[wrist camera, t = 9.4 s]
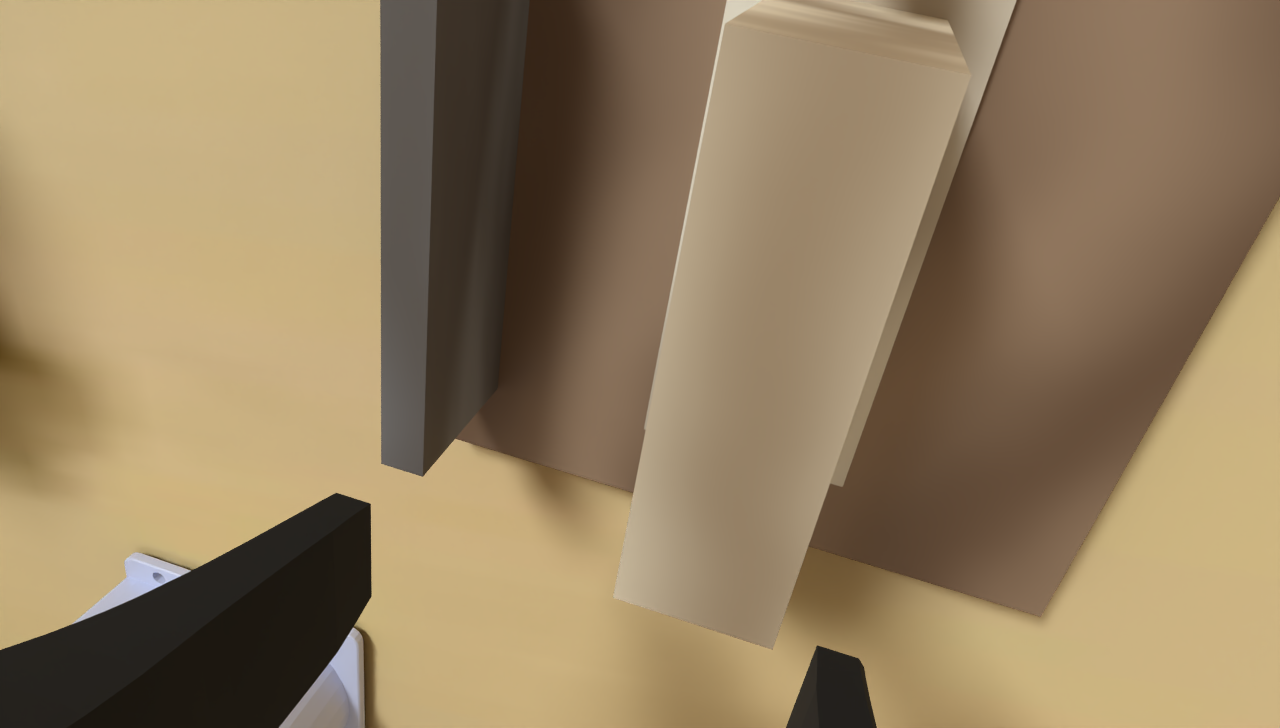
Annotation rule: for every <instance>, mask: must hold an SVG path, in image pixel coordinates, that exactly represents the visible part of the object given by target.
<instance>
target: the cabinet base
mask: <svg viewBox="0 0 1280 728" xmlns="http://www.w3.org/2000/svg"><path fill="white" fill-rule="evenodd" d="M761 1H762V0H380V17H381V464H384V465H387V466H391V467H394V468H397V469H400V470H403V471H406V472H410V473H413V474H416V475H419V476H422V477H423V476H424V475H425V473H426V472H427V471H428V470H429V469H430V467H431V466H432V465H433V464H434V463H435V462H436V460H437V459H438V458H439V457H440V456H441V455H442V453H443V452H444V451H445V450H446V449H447V448H448V446H449V445H450V444H451V443H452V442H453V440H454V439H458V440H462V441H465V442H468V443H471V444H475V445H478V446H481V447H485V448H488V449H491V450H494V451H498V452H501V453H504V454H508V455H511V456H514V457H517V458H521V459H524V460H527V461H531V462H534V463H537V464H540V465H544V466H547V467H550V468H554V469H557V470H560V471H563V472H567V473H570V474H573V475H577V476H580V477H583V478H586V479H590V480H593V481H596V482H600V483H603V484H606V485H609V486H613V487H616V488H619V489H623V490H626V491H629V492H632V493H634V488H635V482H636V477H637V472H638V467H639V462H640V457H641V452H642V447H643V441H644V436H645V431H646V426H647V421H648V416H649V411H650V405H651V400H652V395H653V390H654V385H655V380H656V375H657V370H658V364H659V359H660V354H661V349H662V344H663V339H664V334H665V329H666V323H667V318H668V313H669V308H670V303H671V298H672V293H673V288H674V282H675V277H676V272H677V267H678V262H679V257H680V252H681V246H682V241H683V236H684V231H685V226H686V221H687V216H688V211H689V205H690V200H691V195H692V190H693V185H694V180H695V175H696V170H697V164H698V159H699V154H700V149H701V144H702V139H703V134H704V128H705V123H706V118H707V113H708V108H709V103H710V98H711V93H712V87H713V82H714V77H715V72H716V67H717V62H718V57H719V52H720V46H721V41H722V36H723V31H724V26H725V23H727V22H729V21H730V20H732V19H733V18H735V17H737V16H738V15H740V14H741V13H743V12H745V11H746V10H748V9H749V8H751V7H753V6H754V5H756V4H757V3H759V2H761ZM850 1H855V2H860V3H865V4H870V5H875V6H880V7H885V8H890V9H895V10H900V11H905V12H910V13H915V14H920V15H925V16H930V17H935V18H940V19H945V20H948V22H949V24H950V26H951V29H952V31H953V33H954V36H955V38H956V40H957V43H958V45H959V48H960V50H961V52H962V55H963V57H964V59H965V62H966V64H967V66H968V69H969V71H970V73H971V78H970V81H969V83H968V86H967V89H966V92H965V95H964V98H963V101H962V104H961V107H960V109H959V112H958V115H957V118H956V121H955V124H954V127H953V130H952V133H951V135H950V138H949V141H948V144H947V147H946V150H945V153H944V156H943V159H942V161H941V164H940V167H939V170H938V173H937V176H936V179H935V182H934V185H933V187H932V190H931V193H930V196H929V199H928V202H927V205H926V208H925V211H924V213H923V216H922V219H921V222H920V225H919V228H918V231H917V234H916V237H915V239H914V242H913V245H912V248H911V251H910V254H909V257H908V260H907V263H906V265H905V268H904V271H903V274H902V277H901V280H900V283H899V286H898V288H897V291H896V294H895V297H894V300H893V303H892V306H891V309H890V312H889V314H888V317H887V320H886V323H885V326H884V329H883V332H882V335H881V338H880V340H879V343H878V346H877V349H876V352H875V355H874V358H873V361H872V364H871V366H870V369H869V372H868V375H867V378H866V381H865V384H864V387H863V390H862V392H861V395H860V398H859V401H858V404H857V407H856V410H855V413H854V416H853V418H852V421H851V424H850V427H849V430H848V433H847V436H846V439H845V442H844V444H843V447H842V450H841V453H840V456H839V459H838V462H837V465H836V468H835V470H834V473H833V476H832V479H831V482H830V485H829V488H828V491H827V494H826V496H825V499H824V502H823V505H822V508H821V511H820V514H819V517H818V520H817V522H816V525H815V528H814V531H813V534H812V537H811V540H810V543H809V546H810V547H813V548H816V549H820V550H823V551H826V552H829V553H833V554H836V555H839V556H843V557H846V558H849V559H852V560H856V561H859V562H862V563H866V564H869V565H872V566H875V567H879V568H882V569H885V570H889V571H892V572H895V573H898V574H902V575H905V576H908V577H912V578H915V579H918V580H921V581H925V582H928V583H931V584H935V585H938V586H941V587H944V588H948V589H951V590H954V591H958V592H961V593H964V594H967V595H971V596H974V597H977V598H981V599H984V600H987V601H990V602H994V603H997V604H1000V605H1004V606H1007V607H1010V608H1013V609H1017V610H1020V611H1023V612H1027V613H1030V614H1033V615H1036V616H1040V617H1041V615H1042V614H1043V612H1044V610H1045V608H1046V607H1047V605H1048V603H1049V601H1050V600H1051V598H1052V596H1053V594H1054V592H1055V591H1056V589H1057V587H1058V585H1059V584H1060V582H1061V580H1062V578H1063V577H1064V575H1065V573H1066V571H1067V570H1068V568H1069V566H1070V564H1071V563H1072V561H1073V559H1074V557H1075V556H1076V554H1077V552H1078V550H1079V549H1080V547H1081V545H1082V543H1083V542H1084V540H1085V538H1086V536H1087V534H1088V533H1089V531H1090V529H1091V527H1092V526H1093V524H1094V522H1095V520H1096V519H1097V517H1098V515H1099V513H1100V512H1101V510H1102V508H1103V506H1104V505H1105V503H1106V501H1107V499H1108V498H1109V496H1110V494H1111V492H1112V491H1113V489H1114V487H1115V485H1116V484H1117V482H1118V480H1119V478H1120V477H1121V475H1122V473H1123V471H1124V469H1125V468H1126V466H1127V464H1128V462H1129V461H1130V459H1131V457H1132V455H1133V454H1134V452H1135V450H1136V448H1137V447H1138V445H1139V443H1140V441H1141V440H1142V438H1143V436H1144V434H1145V433H1146V431H1147V429H1148V427H1149V426H1150V424H1151V422H1152V420H1153V419H1154V417H1155V415H1156V413H1157V411H1158V410H1159V408H1160V406H1161V404H1162V403H1163V401H1164V399H1165V397H1166V396H1167V394H1168V392H1169V390H1170V389H1171V387H1172V385H1173V383H1174V382H1175V380H1176V378H1177V376H1178V375H1179V373H1180V371H1181V369H1182V368H1183V366H1184V364H1185V362H1186V361H1187V359H1188V357H1189V355H1190V354H1191V352H1192V350H1193V348H1194V346H1195V345H1196V343H1197V341H1198V339H1199V338H1200V336H1201V334H1202V332H1203V331H1204V329H1205V327H1206V325H1207V324H1208V322H1209V320H1210V318H1211V317H1212V315H1213V313H1214V311H1215V310H1216V308H1217V306H1218V304H1219V303H1220V301H1221V299H1222V297H1223V296H1224V294H1225V292H1226V290H1227V288H1228V287H1229V285H1230V283H1231V281H1232V280H1233V278H1234V276H1235V274H1236V273H1237V271H1238V269H1239V267H1240V266H1241V264H1242V262H1243V260H1244V259H1245V257H1246V255H1247V253H1248V252H1249V250H1250V248H1251V246H1252V245H1253V243H1254V241H1255V239H1256V238H1257V236H1258V234H1259V232H1260V231H1261V229H1262V227H1263V225H1264V223H1265V222H1266V220H1267V218H1268V216H1269V215H1270V213H1271V211H1272V209H1273V208H1274V206H1275V204H1276V202H1277V201H1278V199H1279V197H1280V0H850Z"/></svg>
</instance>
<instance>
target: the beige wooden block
mask: <svg viewBox="0 0 1280 728" xmlns="http://www.w3.org/2000/svg"><path fill="white" fill-rule="evenodd" d="M970 78H971V73H970V71H969V69H968V66H967V64H966V62H965V59H964V57H963V55H962V52H961V50H960V48H959V45H958V43H957V40H956V38H955V36H954V33H953V31H952V29H951V26H950V24H949V22H948V20H945V19H940V18H935V17H930V16H925V15H920V14H915V13H910V12H905V11H900V10H895V9H890V8H885V7H880V6H875V5H870V4H865V3H860V2H855V1H850V0H762V1H761V2H759V3H757V4H756V5H754V6H753V7H751V8H749V9H748V10H746V11H745V12H743V13H741V14H740V15H738V16H737V17H735V18H733V19H732V20H730V21H729V22H727V23H725V26H724V31H723V36H722V41H721V46H720V52H719V57H718V62H717V67H716V72H715V77H714V82H713V87H712V93H711V98H710V103H709V108H708V113H707V118H706V123H705V128H704V134H703V139H702V144H701V149H700V154H699V159H698V164H697V170H696V175H695V180H694V185H693V190H692V195H691V200H690V205H689V211H688V216H687V221H686V226H685V231H684V236H683V241H682V246H681V252H680V257H679V262H678V267H677V272H676V277H675V282H674V288H673V293H672V298H671V303H670V308H669V313H668V318H667V323H666V329H665V334H664V339H663V344H662V349H661V354H660V359H659V364H658V370H657V375H656V380H655V385H654V390H653V395H652V400H651V405H650V411H649V416H648V421H647V426H646V431H645V436H644V441H643V447H642V452H641V457H640V462H639V467H638V472H637V477H636V482H635V488H634V493H633V498H632V503H631V508H630V513H629V518H628V523H627V529H626V534H625V539H624V544H623V549H622V554H621V559H620V565H619V570H618V575H617V580H616V585H615V590H614V595H613V598H615V599H618V600H622V601H625V602H628V603H631V604H634V605H637V606H640V607H643V608H646V609H649V610H652V611H655V612H658V613H661V614H665V615H668V616H671V617H674V618H677V619H680V620H683V621H686V622H689V623H692V624H695V625H698V626H701V627H704V628H707V629H711V630H714V631H717V632H720V633H723V634H726V635H729V636H732V637H735V638H738V639H741V640H744V641H747V642H750V643H753V644H757V645H760V646H763V647H766V648H769V649H772V650H773V647H774V644H775V641H776V638H777V635H778V632H779V629H780V626H781V624H782V621H783V618H784V615H785V612H786V609H787V606H788V603H789V600H790V598H791V595H792V592H793V589H794V586H795V583H796V580H797V577H798V574H799V572H800V569H801V566H802V563H803V560H804V557H805V554H806V551H807V548H808V546H809V543H810V540H811V537H812V534H813V531H814V528H815V525H816V522H817V520H818V517H819V514H820V511H821V508H822V505H823V502H824V499H825V496H826V494H827V491H828V488H829V485H830V482H831V479H832V476H833V473H834V470H835V468H836V465H837V462H838V459H839V456H840V453H841V450H842V447H843V444H844V442H845V439H846V436H847V433H848V430H849V427H850V424H851V421H852V418H853V416H854V413H855V410H856V407H857V404H858V401H859V398H860V395H861V392H862V390H863V387H864V384H865V381H866V378H867V375H868V372H869V369H870V366H871V364H872V361H873V358H874V355H875V352H876V349H877V346H878V343H879V340H880V338H881V335H882V332H883V329H884V326H885V323H886V320H887V317H888V314H889V312H890V309H891V306H892V303H893V300H894V297H895V294H896V291H897V288H898V286H899V283H900V280H901V277H902V274H903V271H904V268H905V265H906V263H907V260H908V257H909V254H910V251H911V248H912V245H913V242H914V239H915V237H916V234H917V231H918V228H919V225H920V222H921V219H922V216H923V213H924V211H925V208H926V205H927V202H928V199H929V196H930V193H931V190H932V187H933V185H934V182H935V179H936V176H937V173H938V170H939V167H940V164H941V161H942V159H943V156H944V153H945V150H946V147H947V144H948V141H949V138H950V135H951V133H952V130H953V127H954V124H955V121H956V118H957V115H958V112H959V109H960V107H961V104H962V101H963V98H964V95H965V92H966V89H967V86H968V83H969V81H970Z"/></svg>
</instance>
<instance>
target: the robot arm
mask: <svg viewBox="0 0 1280 728" xmlns="http://www.w3.org/2000/svg"><path fill="white" fill-rule="evenodd" d="M125 569H126V574H127V577H126V578H125V579H124V580H123V581H122V582H121V583H119V584H118V585H117V586H116V587H115V588H114V589H112V590H111V591H110V592H109V593H108V594H107V595H105V596H104V597H103V598H102V599H101V600H100V601H98V602H97V603H96V604H95V605H94V606H93V607H91V608H90V609H89V610H88V611H87V612H86V613H84V614H83V615H82V616H81V617H80V618H79V619H77V620H76V621H75V622H74V623H73V624H72V625H69V626H67V627H64V628H62V629H59V630H56V631H54V632H51V633H48V634H46V635H43V636H40V637H37V638H34V639H31V640H28V641H25V642H23V643H20V644H17V645H14V646H11V647H8V648H5V649H2V650H0V728H365V705H364V651H363V638H362V635H361V634H360V632H359V631H358V630H356V629H355V628H353V627H354V625H355V623H356V622H357V620H358V618H359V617H360V615H361V613H362V611H363V610H364V608H365V606H366V605H367V603H368V601H369V599H370V598H371V504H370V503H366V502H363V501H360V500H357V499H354V498H351V497H348V496H344V495H341V494H338V493H335V494H333V495H331V496H330V497H328V498H326V499H324V500H322V501H320V502H318V503H317V504H315V505H313V506H311V507H309V508H307V509H306V510H304V511H302V512H300V513H298V514H296V515H295V516H293V517H291V518H289V519H287V520H286V521H284V522H282V523H280V524H278V525H277V526H275V527H273V528H271V529H269V530H268V531H266V532H264V533H262V534H260V535H258V536H257V537H255V538H253V539H251V540H249V541H248V542H246V543H244V544H242V545H240V546H238V547H236V548H234V549H232V550H231V551H229V552H227V553H225V554H223V555H221V556H219V557H217V558H216V559H214V560H212V561H210V562H208V563H206V564H204V565H202V566H200V567H198V568H196V569H194V570H192V571H191V570H188V569H185V568H182V567H180V566H177V565H174V564H171V563H168V562H165V561H162V560H159V559H157V558H154V557H151V556H148V555H145V554H142V553H137V552H136V553H133V554H132V555H130V556H129V557H128V558H127V559H126V560H125ZM786 728H877V727H876V723H875V719H874V714H873V710H872V706H871V701H870V697H869V692H868V687H867V682H866V677H865V671H864V666H863V665H862V663H861V661H860V660H859V659H858V658H855V657H852V656H849V655H846V654H842V653H839V652H836V651H833V650H830V649H827V648H824V647H820V646H817V647H816V650H815V652H814V655H813V658H812V660H811V663H810V666H809V668H808V671H807V674H806V676H805V679H804V681H803V684H802V687H801V689H800V692H799V695H798V697H797V700H796V703H795V705H794V708H793V710H792V713H791V716H790V718H789V721H788V724H787V726H786Z"/></svg>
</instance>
